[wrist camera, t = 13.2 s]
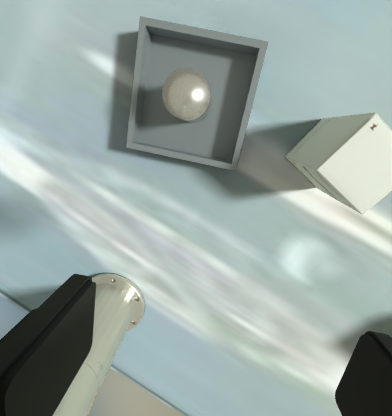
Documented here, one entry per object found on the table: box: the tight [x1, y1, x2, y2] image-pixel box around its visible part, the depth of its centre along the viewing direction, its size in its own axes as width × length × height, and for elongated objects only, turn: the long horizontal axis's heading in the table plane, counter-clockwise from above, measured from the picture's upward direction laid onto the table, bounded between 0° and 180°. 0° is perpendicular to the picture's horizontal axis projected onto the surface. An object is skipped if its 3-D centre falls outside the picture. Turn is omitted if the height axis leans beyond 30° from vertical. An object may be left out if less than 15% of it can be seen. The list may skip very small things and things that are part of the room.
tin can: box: [162, 68, 212, 122], centre depth 31 cm, size 5×5×8 cm
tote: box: [126, 16, 268, 171], centre depth 33 cm, size 16×16×4 cm
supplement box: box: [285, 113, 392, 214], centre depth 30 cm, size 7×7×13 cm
